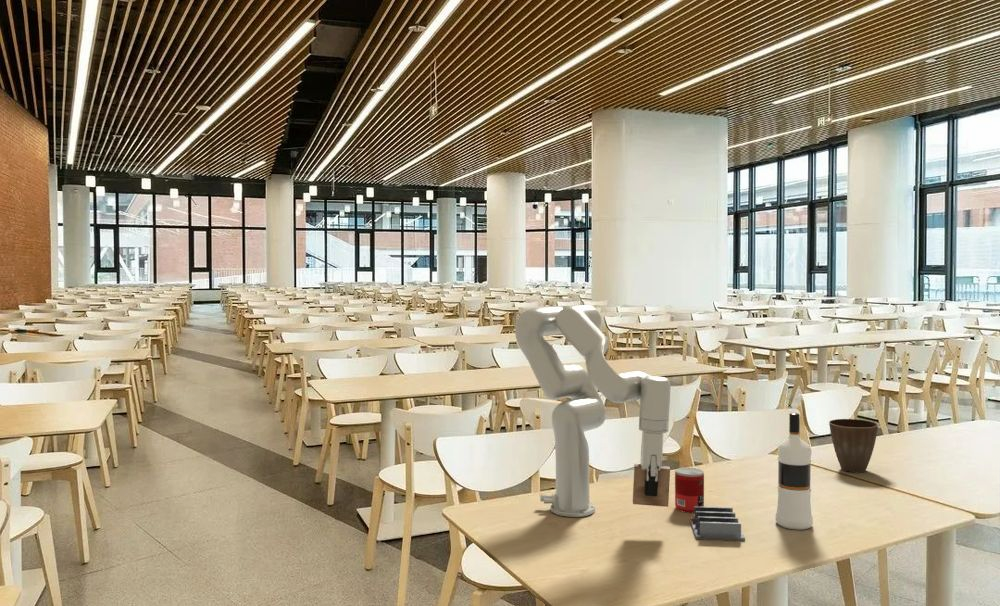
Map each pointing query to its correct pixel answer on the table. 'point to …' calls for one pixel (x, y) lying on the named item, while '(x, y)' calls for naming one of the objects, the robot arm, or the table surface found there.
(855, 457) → the plant pot
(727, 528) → the rack
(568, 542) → the table surface
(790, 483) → the vodka
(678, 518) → the table surface
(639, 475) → the board
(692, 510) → the canned food
